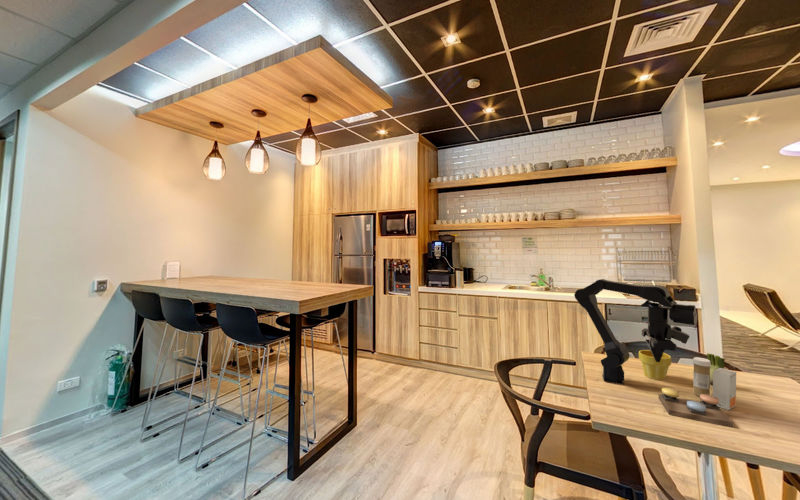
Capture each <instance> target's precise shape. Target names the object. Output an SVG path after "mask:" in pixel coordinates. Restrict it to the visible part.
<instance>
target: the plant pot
mask: <svg viewBox="0 0 800 500" xmlns="http://www.w3.org/2000/svg"><path fill="white" fill-rule="evenodd" d="M638 359H639V361H640V362H641V367H642V370H643V375H644V376H645V377H647V378H649V379H651V380H655V381H664V380H666V376H667V374H668V370H669V367H670V366H671V365H672V357H671V355H669V353H668V354H667V353H665V352H663V355H662V357H661V360H660V362H656V361H655V359H654V357H653V355H652V353H651V350H650V349H642V350H639V351H638Z"/></svg>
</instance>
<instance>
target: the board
mask: <svg viewBox="0 0 800 500" xmlns="http://www.w3.org/2000/svg"><path fill="white" fill-rule="evenodd" d="M658 400H659V401H660V403H661V404H662V406H663V408H664V409H665V412H667V414H668V415H670V416H674V417H680V418H684V419H689V420H694V421H700V422H704V423H710V424H714V425H720V426H725V427H729V428H734V422H733V420H732V419H731V418H730V417H729V416H728V415H727V414H726V413H725V412H724V411H723V410H722V409H721V407H718V406H717V405H716V404H714V405H708V404H706V403H705V402H704V401H702V400H701V399H700V400H694V399H688V398H683V397H674V398H669V397H667V396H666V395H665V394H663V393H661V394H660V393H658ZM687 401H695V402H699V403H702V404H704V405H705V406H706V411H704V412H701V411H696V410H692V409H691V408H689V407H687Z"/></svg>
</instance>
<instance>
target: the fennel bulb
mask: <svg viewBox="0 0 800 500" xmlns="http://www.w3.org/2000/svg"><path fill="white" fill-rule="evenodd" d="M706 356H707V357H706V359H708V360H710V362H711V366H710V386H713V371H714V370H716V369H719V368H723V369H725V362H726V360H725V358H724V357H721V356H719V355H715V354H713V353H709V352H707V353H706Z"/></svg>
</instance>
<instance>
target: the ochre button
mask: <svg viewBox="0 0 800 500" xmlns="http://www.w3.org/2000/svg"><path fill="white" fill-rule="evenodd" d="M661 394H665V395H666V396H667V397H669V398H674V397H678V398H680V392H679V390H678V391H677V390H676V389H673V388H669V387H661Z"/></svg>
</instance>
